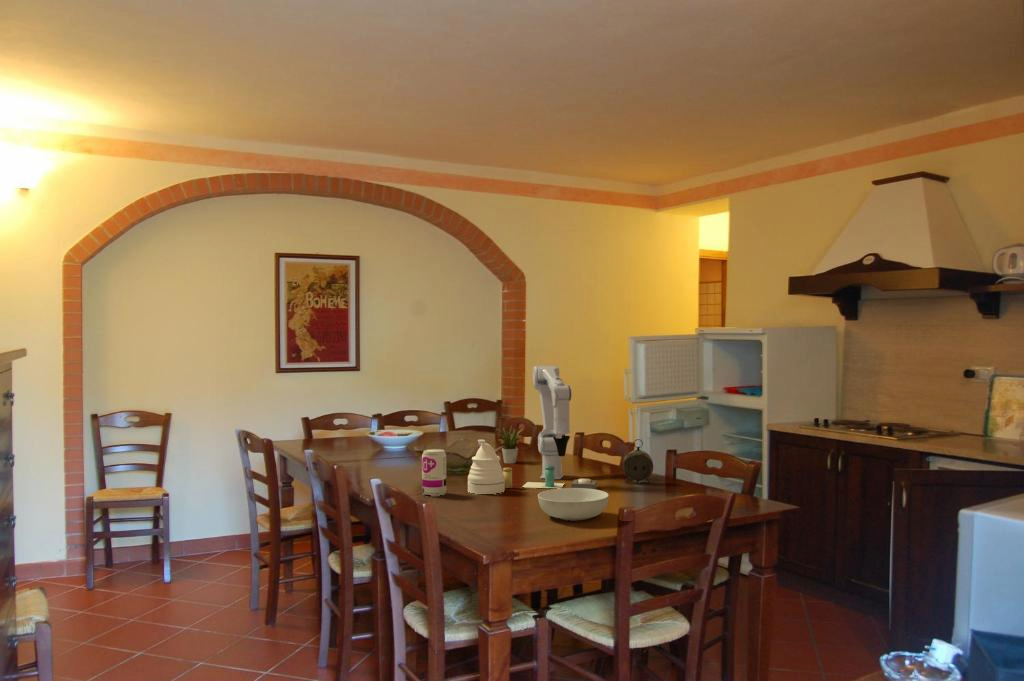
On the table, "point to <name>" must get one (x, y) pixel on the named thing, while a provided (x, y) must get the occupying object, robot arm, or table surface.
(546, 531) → the table surface
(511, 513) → the table surface
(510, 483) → the ball
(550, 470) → the teal marker
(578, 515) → the serving bowl
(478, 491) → the honey pot
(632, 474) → the alarm clock
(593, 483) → the button box
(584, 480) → the button
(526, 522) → the table surface
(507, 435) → the house plant
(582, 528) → the table surface
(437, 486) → the supplement can
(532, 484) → the paper sheet
